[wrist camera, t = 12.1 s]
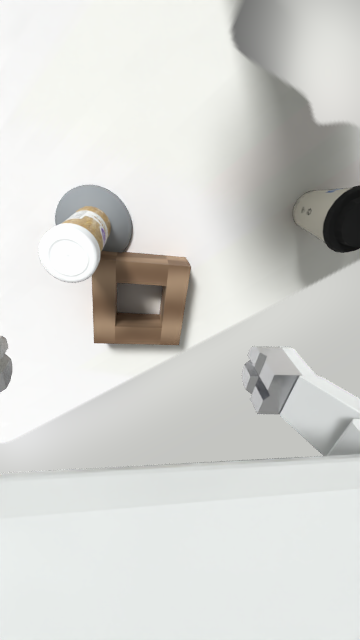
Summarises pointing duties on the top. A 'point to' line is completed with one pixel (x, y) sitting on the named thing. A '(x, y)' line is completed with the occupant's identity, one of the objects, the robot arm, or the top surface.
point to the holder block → (148, 272)
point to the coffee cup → (331, 217)
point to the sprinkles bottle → (75, 245)
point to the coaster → (104, 202)
